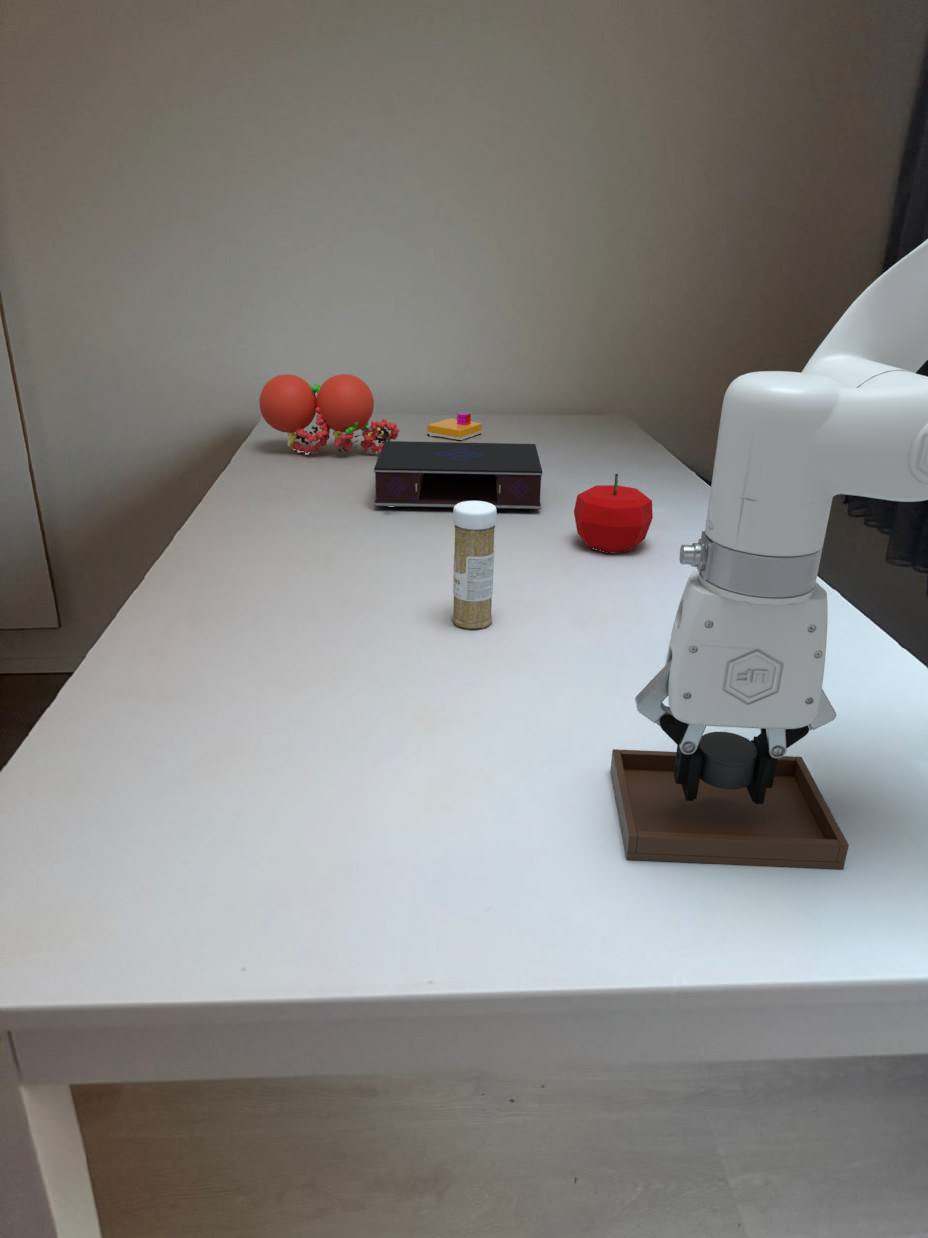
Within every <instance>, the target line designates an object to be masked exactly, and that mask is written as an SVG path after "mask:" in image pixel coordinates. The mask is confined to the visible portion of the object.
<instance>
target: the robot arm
mask: <svg viewBox="0 0 928 1238" xmlns="http://www.w3.org/2000/svg"><path fill="white" fill-rule="evenodd" d="M927 361H928V238H927V239H925V240H924V241H923V242H922V243H921V244H919V245H918V246H917V247H915V248H914V249H913V250H911V251H910V252H909V253H908V254H906V255H905V256H904V257H902V258H901V259H900V260H898V261H897V262H895V264H893V265H892V266H891V267H889V268H888V269H887V270H886V271H885V272H883V273H882V274H881V275H880V276H878V277H877V278H876V279H875V280H874V281H873V282H872V283H871V284H870V285H869V286H867V287H866V288H865V290H863V292H861V294H859V296H858V297H857V298H856V299H855V300H854V301H853V302H852V303H851V305H850V306H849V307H848V308H847V309H846V311H844V313H843V314H842V316H841V317H840V318H839V319H838V321H837V322H836V323H835V324H834V325H833V327H832V329H831V330H830V332H828V334H827V335H826V337H825V338H824V339H823V340H822V342H821V343H820V344H819V346H818V347H817V348H816V350H815V351H814V353H813V354H812V355H811V357H810V358H809V360H808V362H807V363H806V364H805V366H804V368H803V369H802V370H801V372H799V371H798V372H797V371H785V370H767V371H765V370H764V371H751V372H748V373H745V374H742V375H739V376H737V377H736V378H734V379H733V380H732V381H731V383H730V384H729V386H728V387H727V389H726V390H725V394H724V396H723V401H722V406H721V411H720V420H719V426H718V434H717V442H716V448H715V455H714V462H713V463H714V464H713V471H712V478H711V484H710V485H711V486H710V492H709V498H708V499H709V500H708V506H707V514H706V520H705V527H704V530H702V531H701V537H700V538H698V542H693V543H692V544H681V546H680V549H679V563H680V565H690V566H691V567H692V568H696V569H697V570H694V571H692V572H691V573H690V574H689V576H688V579H687V581H686V583H685V585H684V589H683V591H682V595H681V598H680V600H679V604H678V608H677V611H676V614H675V618H674V621H673V626H672V628H671V629H672V630H671V634H670V638H669V643H668V648H667V653H666V658H665V663H664V667H662V668H661V670H659V671H658V673H656V674H655V676H653V678H652V679H650V681H649V682H648V683H647V684H646V685H645V686H644V688H642V689H641V691H639V693H638V694H637V695H636V696H635V698H634V702H635V703H634V704H635V706H636V710H637V712H638V713H639V714H641V715H642V716H644V717H645V718H647V720H649V721H650V722H652V723H653V724H656V725H657V726H659V727H660V728H661V730H662V731H663V732H664V733H665V734H666V735H667V736H668V738H670V739H671V740H672V741H673V742H674V743H675V744H676V745H677V746H676V751H675V752H676V758H675V765H674V779H675V783H676V784H681V785H682V788H683V792H684V795H685V798H686V801H694V799H697V793H698V787H699V780H700V774H701V768H702V761H703V757H702V753H701V751H700V749H699V746H700V744H699V743H700V740H701V738H702V736H703V735H704V733H705V731H706V728H707V727H720V728H738V729H739V728H741V729H759V734H758V735H756V736H753V739H751V740H750V741H751V742H753V743H754V744H755V746H756V747H757V750H758V755H757V760H756V766H755V771H754V777H753V781H752V782H751V783H750V784H749V785H748V786H746V787H747V790H748V792H749V794H750V797H751V799H752V801H753V802H755V804H763V803H764V799H765V793H766V788H772V786H773V781H774V776H775V771H776V766H777V761H778V758H782V757H783V756H786V754H787V749H788V748H790V747H792V746H793V745H794V744H796V743H797V742H799V741H800V740H801V739H803V738H805V737H806V736H807V735H808V734H809V732H810V731H815V730H816V729H818V728H820V727H822V726H825V725H827V724H829V723H831V722H832V721H834V720H835V719H836V718H837V712H836V709H834V706H833V705H832V704H831V701H830V699H829V698H828V696H827V694H826V693H825V691H824V689H823V683H824V676H825V675H824V674H825V664H826V657H827V656H826V654H827V653H826V652H827V641H828V625H829V624H828V623H829V622H828V617H829V616H828V615H829V612H828V611H829V608H828V605H829V604H828V593H827V590H825V588H824V587H822V586H821V585H820V584H819V583H818V582H817V578H818V574H819V569H820V562H821V558H822V553H823V548H824V543H825V538H826V534H827V527H828V525H829V524H828V522H829V518H830V513H831V510H832V509H831V508H832V505H833V504H832V503H833V498H834V497H836V496H837V495H847V496H856V497H865V498H870V499H878V500H885V501H890V502H891V501H892V502H902V503H903V502H904V503H905V502H906V503H907V502H908V503H912V502H914V503H916V502H923V501H928V376H927V375H923V374H919V373H917V372H918V371H919V370H920V368H921V367H922V366H923V365H924V364H925V363H926V362H927ZM667 698H668V706H666V704H664V701H665V699H667Z"/></svg>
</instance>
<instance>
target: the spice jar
mask: <svg viewBox="0 0 928 1238" xmlns="http://www.w3.org/2000/svg"><path fill="white" fill-rule="evenodd" d="M497 511H498V510H497V508H496V507H495V506H494V505H493V504H491V503H488V502H483V501H465V502H460V503H458V504H456V505H455V506H454V507H453V511H452V513H453V514H452V521H453V524H454V553H453V582H452V585H453V586H452V588H453V589H452V594H453V602H452V603H453V607H452V615H451V621H452V623H453V624H455V625H456V626H457V627H460V628H463V629H481V628H482V629H483V628H486V627H488V626H490V625H491V623H492V621H493V616H492V603H493V602H492V601H493V600H492V597H493V594H494V593H493V592H494V590H493V589H494V573H495V572H494V571H495V569H494V568H495V530H496V524H497V515H498V514H497V513H498V512H497Z"/></svg>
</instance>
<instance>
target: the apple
mask: <svg viewBox="0 0 928 1238" xmlns="http://www.w3.org/2000/svg"><path fill="white" fill-rule="evenodd" d="M618 482H619V473H615V475H614V484H603V485H602V484H598V485H594V486H592V487H590V488H588V489H586V490H584V491H582V492H580V493H578V494H577V495H576V499H575V504H574V509H573V516H574V521H575V526H576V533H577V535H578V536H579V538H581V540H582V541H583V542H584V543H585V542H586V543H587V544H588V545H589V546H590V547H589V546H588V545H587V544H586V543H585V544H586V545H587V546H588V547H589V548H590V549H592V548H594V549H597V550H601V551H604V552H603V553H605V552H608V553H610V554H612V553H611V552H622V553H626V552H625V551H627V552H629V551H631V550H633V549H634V547H635V548H636V547H637V546H639V545H640V544H641V543H642V542H644V541H645V540H646V537H647V535H648V533H649V529H650V526H651V524H652V521H653V518H654V517H653V499H651V498H649V497H648V496H647V495H646V494H645V493H643V492H642V491H640V489H638V488H636V487H630V486H625V485H618ZM632 548H633V549H632ZM597 550H596V551H597ZM601 551H600V552H601ZM608 553H607V554H608Z"/></svg>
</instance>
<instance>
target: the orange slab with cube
mask: <svg viewBox="0 0 928 1238" xmlns="http://www.w3.org/2000/svg"><path fill="white" fill-rule="evenodd" d="M471 416H472V414H471V413H469V412H459V413H457V414H456V418H451V417H449V418H445V419H442V420H439V421H435V422H431V423H429V424H427V427H426V428H427V429H426V431H427V432H432V433H437V434H442V435H447V436H453V437H459V438H461V437H463V436H466V435H469V434H473V433H475V432H478V431H481V430H483V428H482V425H483V424H482V423H481V422H477V421H471V420H472V419H471V418H472V417H471ZM427 432H426V433H427Z"/></svg>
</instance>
